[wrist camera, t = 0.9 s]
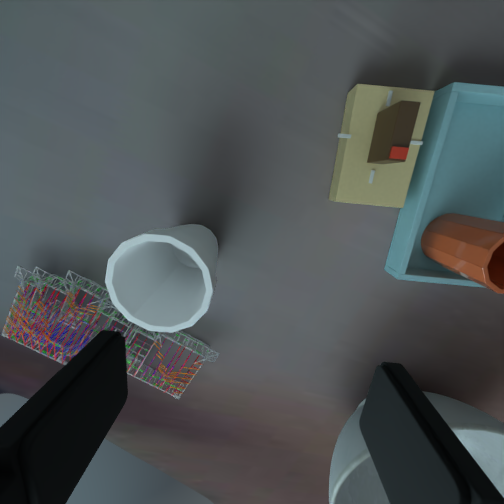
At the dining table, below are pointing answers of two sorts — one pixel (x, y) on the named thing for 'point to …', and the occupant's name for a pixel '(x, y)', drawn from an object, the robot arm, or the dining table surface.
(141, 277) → the foam cup
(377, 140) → the brown switch lever
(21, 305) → the pink plastic packet
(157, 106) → the dining table surface
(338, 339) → the dining table surface
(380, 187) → the switch panel
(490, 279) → the cup
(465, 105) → the blue tray
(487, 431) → the decorative bowl
